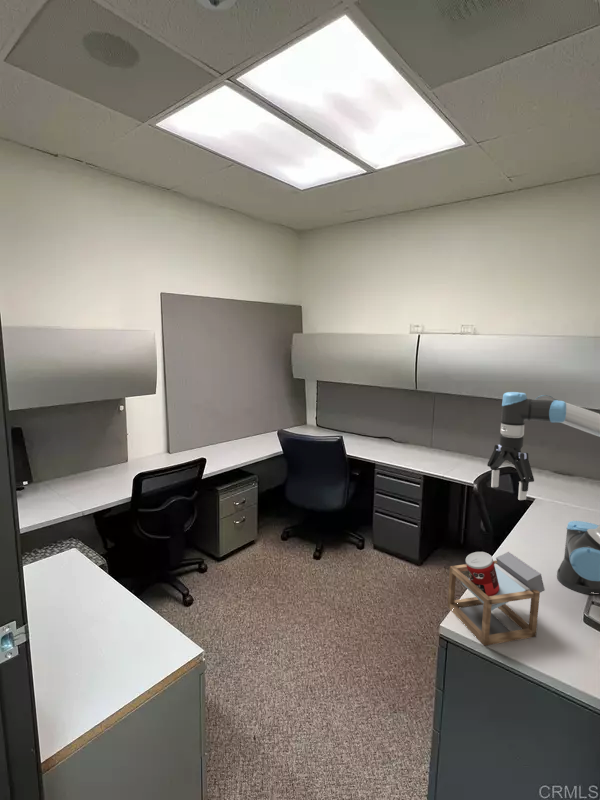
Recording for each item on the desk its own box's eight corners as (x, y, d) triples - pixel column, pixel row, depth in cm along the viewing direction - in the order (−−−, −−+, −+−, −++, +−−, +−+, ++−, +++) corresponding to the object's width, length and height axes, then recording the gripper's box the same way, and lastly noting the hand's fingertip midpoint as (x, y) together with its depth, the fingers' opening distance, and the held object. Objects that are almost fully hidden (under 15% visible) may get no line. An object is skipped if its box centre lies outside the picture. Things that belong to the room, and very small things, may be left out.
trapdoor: (511, 566, 142) (507, 551, 141) (545, 590, 128) (541, 574, 127) (463, 589, 139) (459, 574, 138) (492, 617, 125) (488, 601, 124)
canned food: (468, 586, 135) (460, 556, 133) (490, 577, 136) (483, 548, 134) (481, 601, 128) (473, 570, 126) (505, 592, 128) (497, 561, 126)
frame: (493, 599, 145) (496, 560, 143) (535, 636, 127) (539, 592, 125) (447, 606, 141) (449, 566, 139) (483, 645, 123) (487, 600, 121)
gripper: (479, 429, 160) (476, 482, 163) (530, 444, 136) (525, 506, 139) (496, 428, 162) (492, 481, 165) (549, 442, 138) (544, 504, 141)
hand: (507, 493), depth 152 cm, fingers open, 13 cm apart
